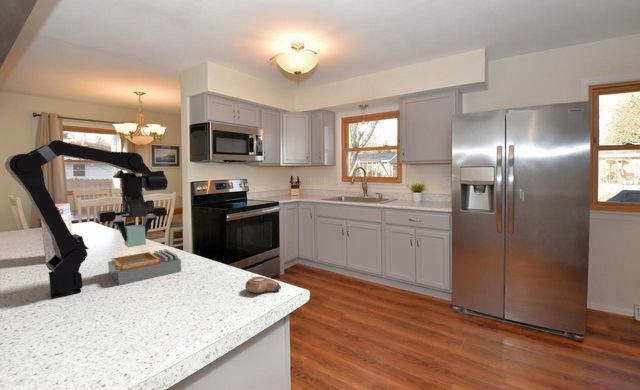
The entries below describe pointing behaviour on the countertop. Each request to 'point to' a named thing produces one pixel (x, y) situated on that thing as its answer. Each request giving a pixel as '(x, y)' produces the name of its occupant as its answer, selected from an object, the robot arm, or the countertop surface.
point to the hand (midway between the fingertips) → (135, 240)
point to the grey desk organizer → (143, 266)
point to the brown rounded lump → (261, 285)
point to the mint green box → (135, 235)
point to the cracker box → (47, 239)
